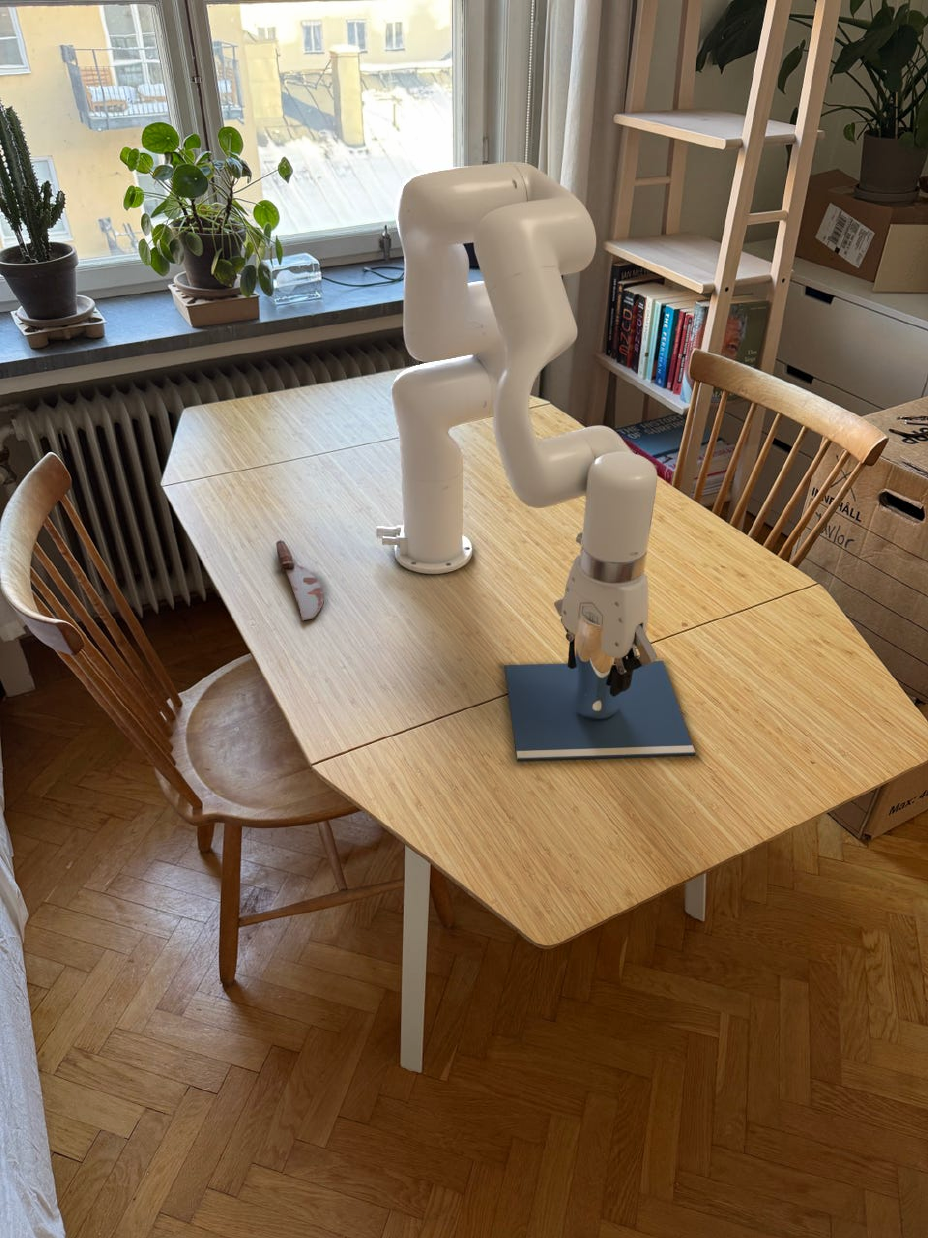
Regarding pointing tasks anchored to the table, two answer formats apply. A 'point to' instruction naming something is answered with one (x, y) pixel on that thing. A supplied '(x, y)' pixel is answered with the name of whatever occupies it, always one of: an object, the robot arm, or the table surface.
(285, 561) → the kitchen knife
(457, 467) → the robot arm
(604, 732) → the blue hardcover book
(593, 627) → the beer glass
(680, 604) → the table surface
